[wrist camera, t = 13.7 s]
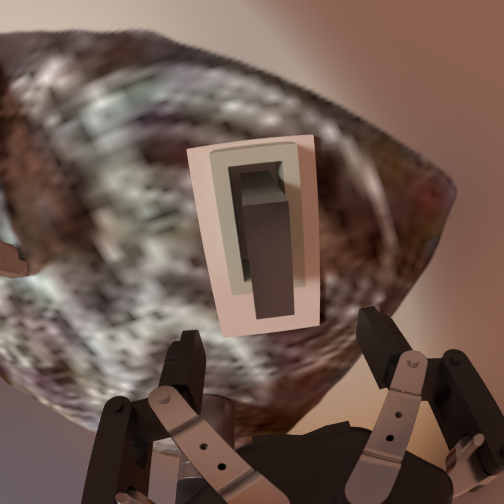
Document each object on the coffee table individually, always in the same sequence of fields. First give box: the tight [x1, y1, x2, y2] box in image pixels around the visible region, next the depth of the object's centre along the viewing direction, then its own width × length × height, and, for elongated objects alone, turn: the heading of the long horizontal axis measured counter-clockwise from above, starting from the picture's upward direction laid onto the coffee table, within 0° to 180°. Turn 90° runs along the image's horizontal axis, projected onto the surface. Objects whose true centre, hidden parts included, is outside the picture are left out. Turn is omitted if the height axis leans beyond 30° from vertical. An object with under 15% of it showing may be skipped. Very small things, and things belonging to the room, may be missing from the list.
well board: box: [187, 135, 320, 338], centre depth 33 cm, size 26×14×6 cm, turn 7°
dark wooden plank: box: [241, 170, 295, 320], centre depth 27 cm, size 9×3×14 cm, turn 6°
